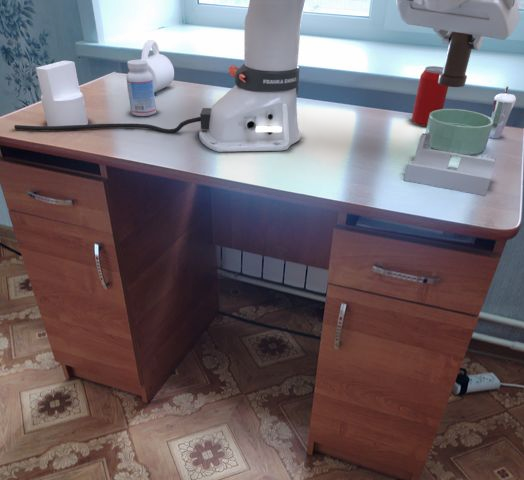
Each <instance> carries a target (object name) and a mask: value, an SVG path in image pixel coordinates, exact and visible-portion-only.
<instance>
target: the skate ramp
mask: <svg viewBox="0 0 524 480" xmlns="http://www.w3.org/2000/svg"><path fill="white" fill-rule="evenodd" d="M431 136H432V135H431V134H425V133H424V132H422V134H420V137H419V140H418V143H417V147H416V151H415V155H414V159H413V162H410V161H408V162H407V164H406V168H405V172H404V177H403V181H405V182H409V183H415V184H420V185H426V186H430V187H431V186H432V187H437V188H441V189H447V190H453V191H457V192H463V193H467V194H468V193H469V194H472V195H473V194H474V195H478V196H484V197H486V196H487V193H488V190H489V187H490V184H491V181H492V174H493V170H494V166H495V164H496V161H497V160H496V159H497V158H495V159H494V156H493V155H492V154H485V153H484V155H482V154H481V152H479V153H476V154H473V155H466V154H467V153H466V154H465V155H463V154H457V153H451V151H449V152H445V151H439V150H435V149H432V148H433V147H432V148H430V147H429V145H430V140H431ZM430 146H432V145H430ZM434 147H435V146H434ZM437 147H438V146H437ZM443 148H444V147H443ZM438 149H440V148H438ZM445 149H446V148H445ZM445 149H444V150H445ZM449 149H450V148H449ZM455 151H456V149H455ZM456 152H457V151H456ZM461 152H462V151H461ZM461 152H460V153H461ZM467 152H468V151H467ZM462 153H463V152H462ZM473 153H474V152H473ZM468 154H469V153H468ZM471 154H472V153H471ZM485 155H486V156H485ZM452 156H456V157H460V159H459V162H458V166H457V167H453V168H452V167H451V166H449V165H450V161H451V157H452ZM484 156H485V157H484ZM489 157H491V158H489Z"/></svg>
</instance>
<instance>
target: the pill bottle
mask: <svg viewBox="0 0 524 480" xmlns="http://www.w3.org/2000/svg"><path fill="white" fill-rule="evenodd" d="M126 62H127V63H126V64H127V69H128V70H130V72H129V71H128V72H127V73H126V76H125V77H126V78H125V79H126V86H127V92H128V93H127V94H128V100H129V101H128V102H129V107H130V108H129V109H130V113H131V114H132V115H133V116H137V117H150V116H153V115H155V114H156V113H157V105H156V97H155V93H154V86H153V78H152V75H151V73H150V72H148V71H147V69H148V62H147V61H146V60H141V59H131V60H128V61H126Z"/></svg>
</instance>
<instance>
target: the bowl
mask: <svg viewBox="0 0 524 480" xmlns="http://www.w3.org/2000/svg"><path fill="white" fill-rule="evenodd" d="M490 117H491V116H488V115H486V114H483V113H481V112H477V111H472V110H468V109H460V108H459V109H458V108H443V109H439V110H435V111H432V112H431V113H430V115H429V119H428V123H427V126H426V128H425V133H424V134H431V135H432V136H431V140H430V145H432V146H430V145H429V149H433V150H434V149H435V150H439V151H445V152H449V151H451V153H457V154H463V155H465V154H466V153H467V154H466V155H469V156H471V155H472V156H474V154H475V155H477V154H479V153H482V152H484V151H485V150H486V148H487V145H488V142H489V139H490V137H489V136H490V133H491V129H492V126H493V120H492V119H491V118H490ZM434 146H435V147H434ZM437 146H438V147H437ZM432 147H433V148H432ZM443 147H444V148H443ZM438 148H440V149H438ZM445 148H446V149H445ZM449 148H450V149H449ZM444 149H445V150H444ZM455 149H456V151H457V152H456V151H455ZM461 151H462V152H463V153H462V152H461ZM467 151H468V152H467ZM460 152H461V153H460ZM473 152H474V153H473ZM468 153H469V154H468ZM471 153H472V154H471Z"/></svg>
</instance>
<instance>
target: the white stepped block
mask: <svg viewBox="0 0 524 480" xmlns="http://www.w3.org/2000/svg"><path fill="white" fill-rule="evenodd" d="M35 71H36V75H37V80H38V84H39V88H40V93H41V95H40V100H41V104H42V110H43V113H44V117H45V123H46V126H71V125H89V119H88V112H87V109H86V102H85V98H84V94H83V93H82V92H81V90H80V84H79V79H78V74H77V69H76V63H75V61H71V60H61V61H57V62H53V63H49V64H45V65H41V66H38V67H35Z"/></svg>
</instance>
